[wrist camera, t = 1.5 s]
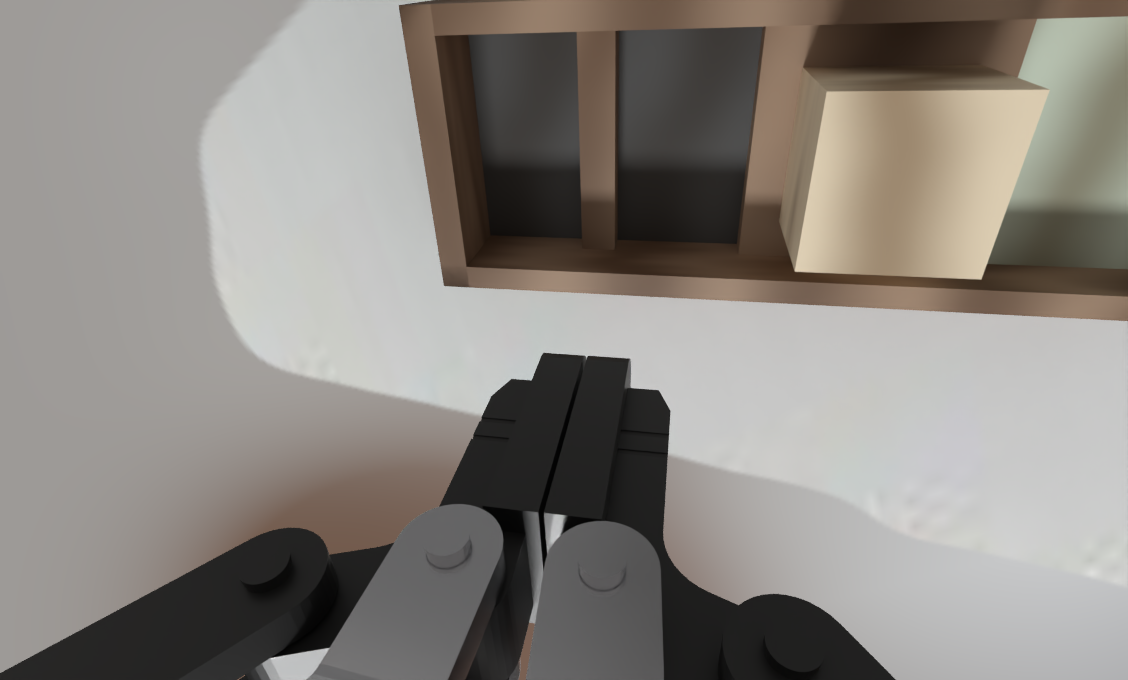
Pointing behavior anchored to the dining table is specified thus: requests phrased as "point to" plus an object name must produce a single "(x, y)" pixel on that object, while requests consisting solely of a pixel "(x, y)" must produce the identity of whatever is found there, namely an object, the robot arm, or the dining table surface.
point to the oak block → (904, 167)
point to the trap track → (746, 145)
